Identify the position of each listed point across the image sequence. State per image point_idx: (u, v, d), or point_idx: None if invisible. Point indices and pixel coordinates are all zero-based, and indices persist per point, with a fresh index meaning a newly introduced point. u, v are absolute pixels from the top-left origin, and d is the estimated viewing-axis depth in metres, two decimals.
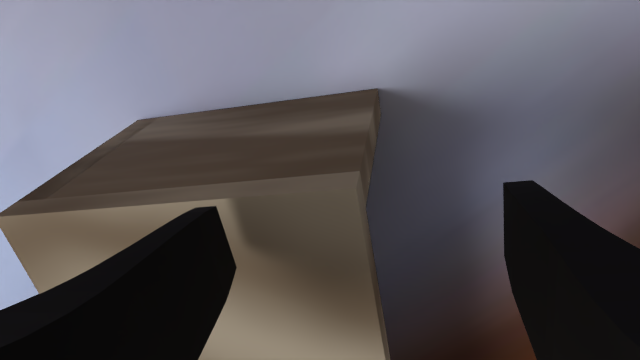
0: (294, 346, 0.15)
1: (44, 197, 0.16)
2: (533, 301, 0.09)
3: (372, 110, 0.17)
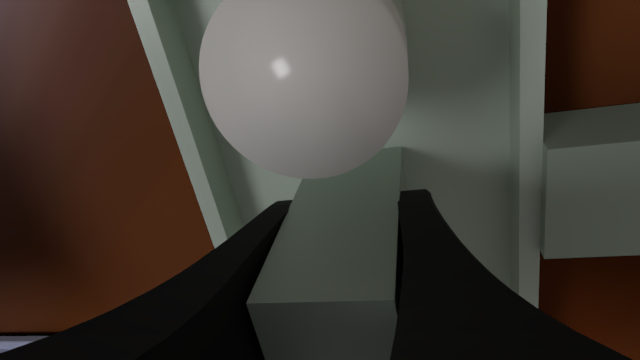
0: None
1: None
2: None
3: None
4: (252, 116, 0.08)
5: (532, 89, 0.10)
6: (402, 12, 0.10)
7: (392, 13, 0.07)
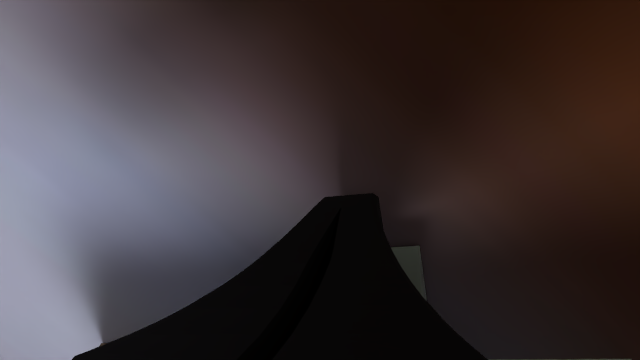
0: None
1: None
2: None
3: None
4: None
5: None
6: None
7: None
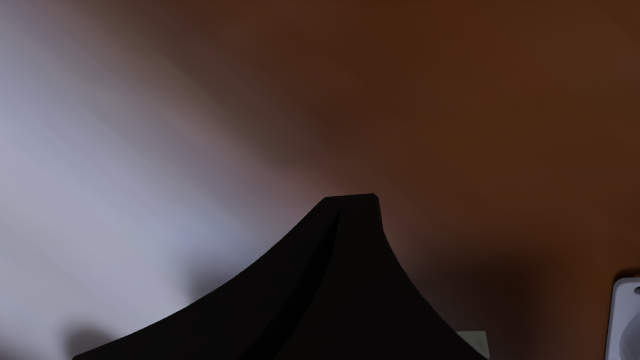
0: None
1: None
2: None
3: None
4: None
5: None
6: None
7: None
